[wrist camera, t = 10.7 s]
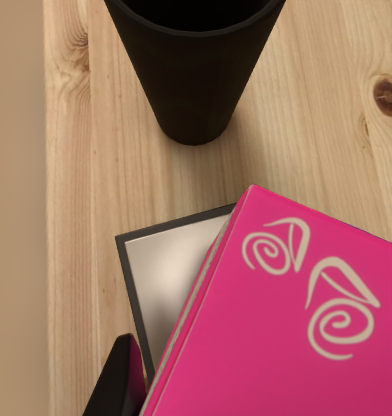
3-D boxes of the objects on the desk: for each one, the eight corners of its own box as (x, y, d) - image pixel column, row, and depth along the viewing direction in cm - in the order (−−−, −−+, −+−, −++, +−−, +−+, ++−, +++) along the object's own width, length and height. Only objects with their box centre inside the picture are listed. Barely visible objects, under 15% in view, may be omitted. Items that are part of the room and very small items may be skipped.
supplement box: (313, 287, 16) (611, 328, 5) (271, 403, 15) (524, 832, 3) (210, 240, 16) (251, 172, 5) (161, 349, 15) (73, 578, 4)
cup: (234, 168, 22) (283, 58, 10) (131, 148, 22) (65, 17, 11) (251, 74, 24) (312, -116, 12) (154, 56, 24) (119, -150, 12)
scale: (318, 377, 20) (340, 397, 17) (167, 425, 19) (162, 455, 16) (260, 201, 22) (271, 191, 19) (122, 239, 21) (111, 235, 18)
